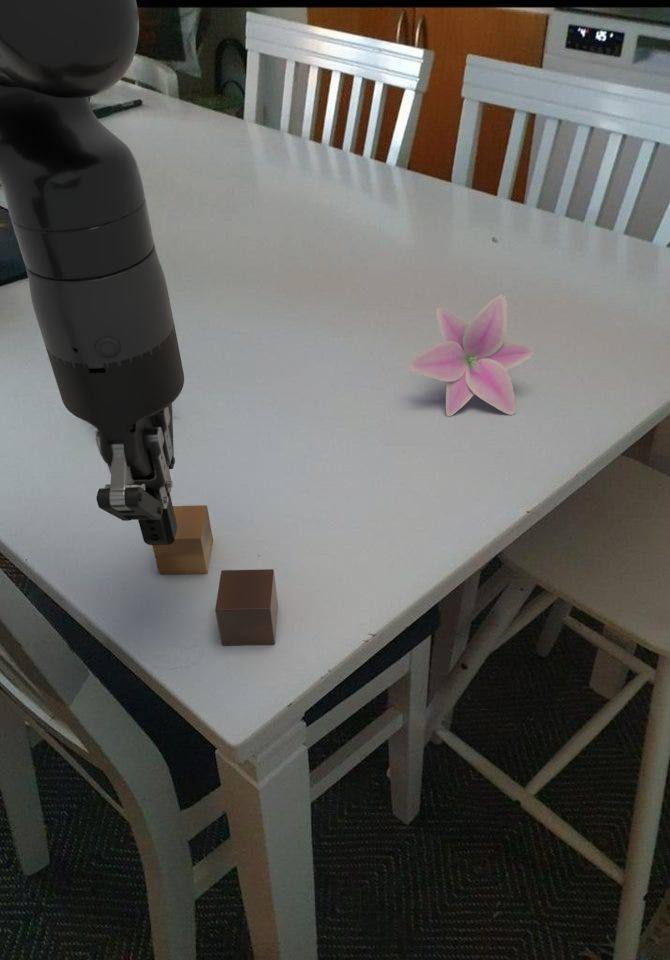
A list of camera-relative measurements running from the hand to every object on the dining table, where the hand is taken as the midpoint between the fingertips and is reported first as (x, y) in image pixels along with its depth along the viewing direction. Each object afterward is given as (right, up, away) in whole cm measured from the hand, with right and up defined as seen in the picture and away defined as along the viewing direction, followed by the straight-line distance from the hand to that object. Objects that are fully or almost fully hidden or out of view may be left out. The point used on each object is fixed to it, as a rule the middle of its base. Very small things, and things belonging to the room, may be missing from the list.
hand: (161, 538), depth 58 cm
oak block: (0, -2, +9) cm, 10 cm away
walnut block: (+6, -7, +4) cm, 10 cm away
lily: (+27, +13, +27) cm, 40 cm away
